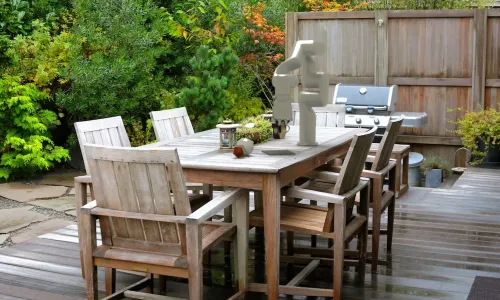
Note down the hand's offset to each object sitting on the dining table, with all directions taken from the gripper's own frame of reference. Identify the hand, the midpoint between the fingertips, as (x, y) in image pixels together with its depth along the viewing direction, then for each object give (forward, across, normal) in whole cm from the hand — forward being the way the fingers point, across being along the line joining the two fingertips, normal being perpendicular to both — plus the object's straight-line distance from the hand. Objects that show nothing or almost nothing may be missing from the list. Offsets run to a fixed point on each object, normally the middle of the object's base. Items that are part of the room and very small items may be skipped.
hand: (282, 132), depth 380 cm
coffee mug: (+10, +19, +66) cm, 69 cm away
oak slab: (+1, 0, +2) cm, 2 cm away
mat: (+11, -2, +2) cm, 11 cm away
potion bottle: (+12, -23, -6) cm, 26 cm away
